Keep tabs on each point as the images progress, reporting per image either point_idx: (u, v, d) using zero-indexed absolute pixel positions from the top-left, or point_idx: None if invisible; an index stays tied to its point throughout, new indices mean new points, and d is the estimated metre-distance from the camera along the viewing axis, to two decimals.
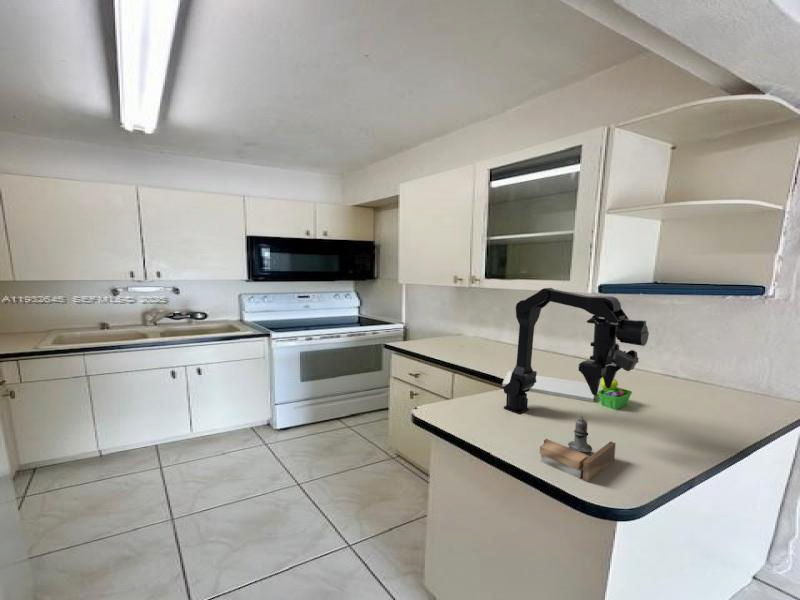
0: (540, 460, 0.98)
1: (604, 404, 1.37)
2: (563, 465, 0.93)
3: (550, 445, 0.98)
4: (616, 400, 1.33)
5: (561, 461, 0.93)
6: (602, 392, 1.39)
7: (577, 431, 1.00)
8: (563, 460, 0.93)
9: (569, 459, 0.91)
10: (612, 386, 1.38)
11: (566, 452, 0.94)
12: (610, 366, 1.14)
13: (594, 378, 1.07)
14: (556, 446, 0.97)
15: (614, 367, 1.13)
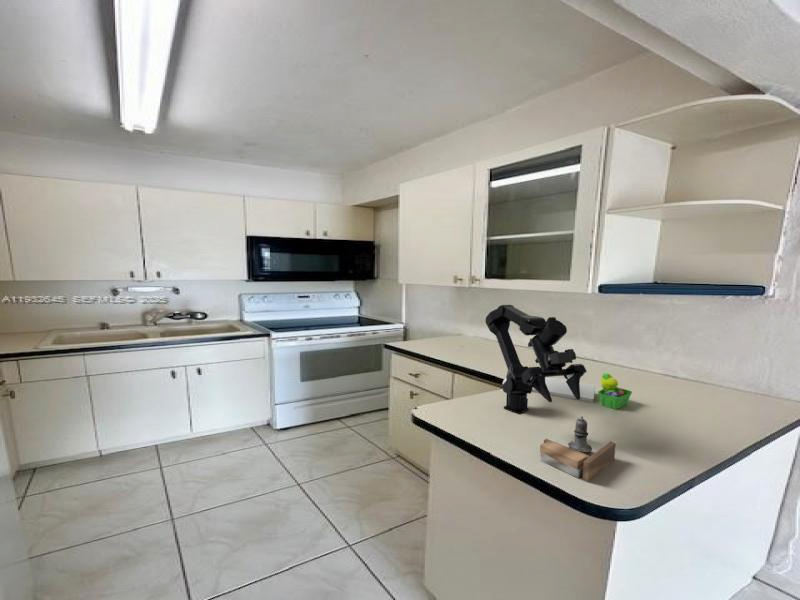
0: None
1: (604, 404, 1.37)
2: (561, 464, 0.93)
3: (551, 443, 0.98)
4: (616, 400, 1.33)
5: (560, 460, 0.93)
6: (602, 392, 1.39)
7: (577, 431, 1.00)
8: (562, 459, 0.93)
9: (568, 458, 0.92)
10: (612, 386, 1.38)
11: (566, 452, 0.94)
12: (571, 377, 1.13)
13: (540, 384, 1.10)
14: (557, 445, 0.97)
15: (573, 376, 1.12)
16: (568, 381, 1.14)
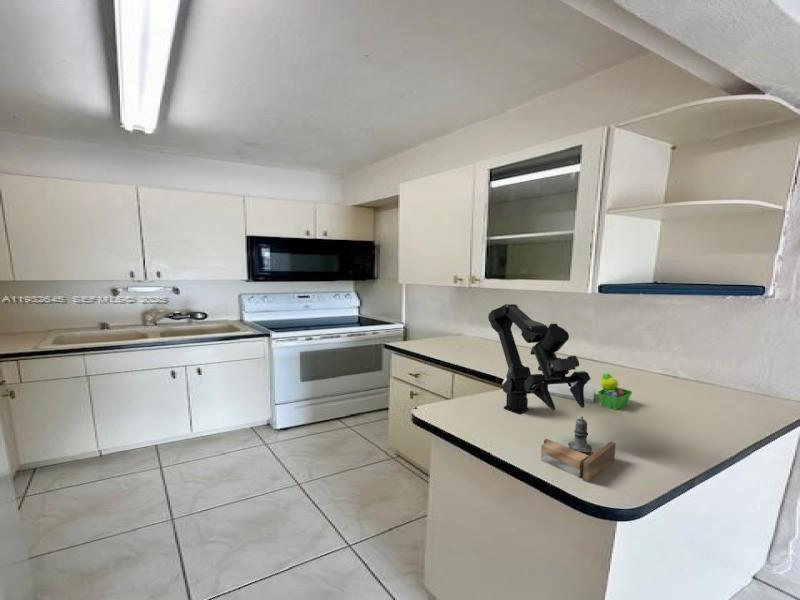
0: None
1: (604, 404, 1.37)
2: (562, 463, 0.93)
3: (552, 443, 0.98)
4: (616, 400, 1.33)
5: (562, 460, 0.93)
6: (602, 392, 1.39)
7: (577, 431, 1.00)
8: (564, 459, 0.93)
9: (570, 458, 0.92)
10: (612, 386, 1.38)
11: (568, 451, 0.94)
12: (575, 385, 1.11)
13: (543, 392, 1.07)
14: (558, 445, 0.97)
15: (576, 383, 1.10)
16: (572, 389, 1.12)
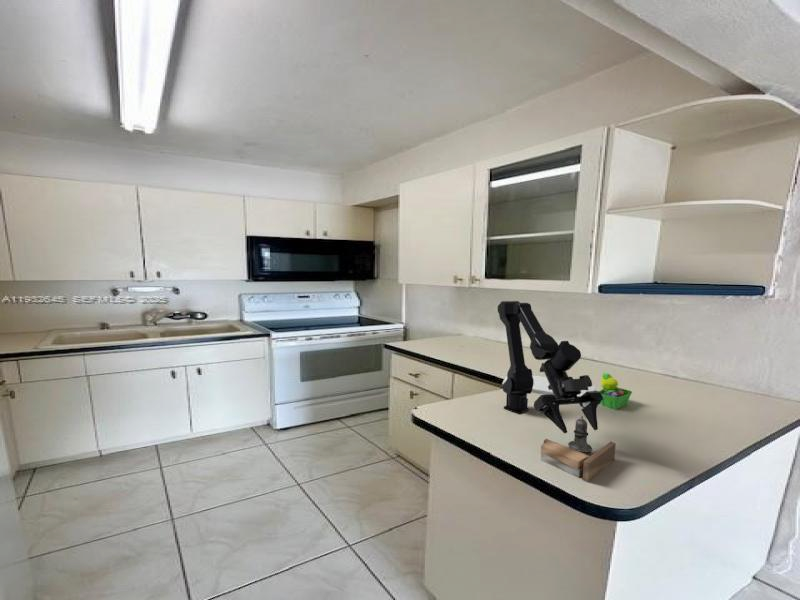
0: None
1: (604, 404, 1.37)
2: (562, 463, 0.93)
3: (552, 444, 0.98)
4: (616, 400, 1.33)
5: (561, 460, 0.93)
6: (602, 392, 1.39)
7: (577, 431, 1.00)
8: (563, 459, 0.93)
9: (569, 458, 0.92)
10: (612, 386, 1.38)
11: (567, 452, 0.94)
12: (587, 406, 1.05)
13: (554, 414, 1.02)
14: (557, 445, 0.97)
15: (589, 404, 1.05)
16: (584, 409, 1.07)
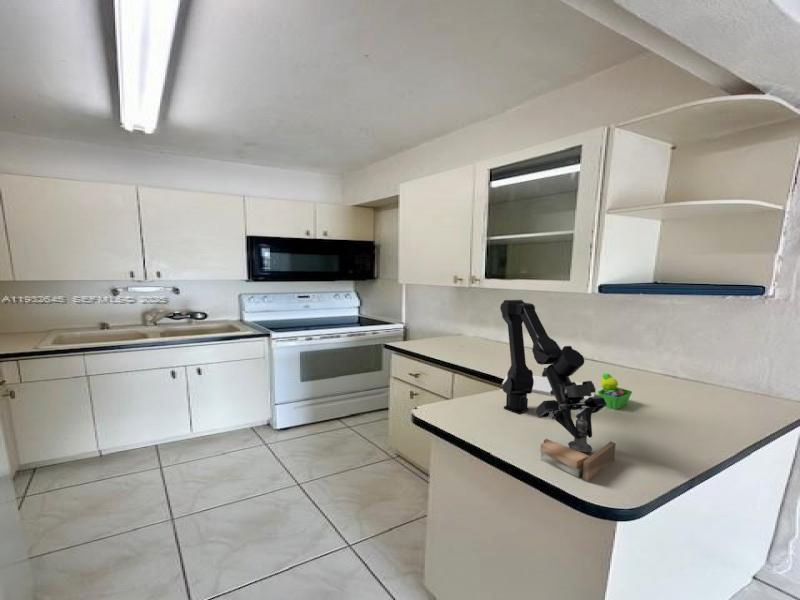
0: None
1: None
2: (561, 463, 0.93)
3: (552, 443, 0.98)
4: (616, 400, 1.33)
5: (560, 459, 0.93)
6: (602, 392, 1.39)
7: (577, 431, 1.00)
8: (562, 459, 0.93)
9: (567, 458, 0.91)
10: (612, 386, 1.38)
11: (566, 452, 0.94)
12: (581, 412, 1.04)
13: (566, 419, 1.02)
14: (557, 445, 0.97)
15: (584, 411, 1.03)
16: (578, 416, 1.05)
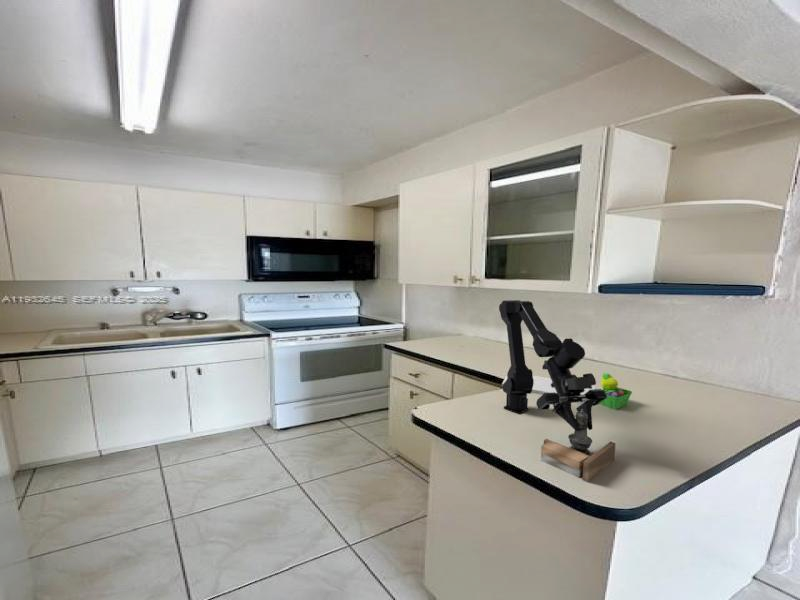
0: (540, 460, 0.98)
1: (604, 404, 1.37)
2: (562, 464, 0.93)
3: (552, 444, 0.98)
4: (616, 400, 1.33)
5: (562, 460, 0.93)
6: None
7: (577, 423, 1.00)
8: (564, 460, 0.93)
9: (570, 459, 0.92)
10: (612, 386, 1.38)
11: (568, 452, 0.94)
12: (582, 405, 1.04)
13: (566, 411, 1.02)
14: (558, 446, 0.97)
15: (584, 403, 1.03)
16: (579, 408, 1.05)
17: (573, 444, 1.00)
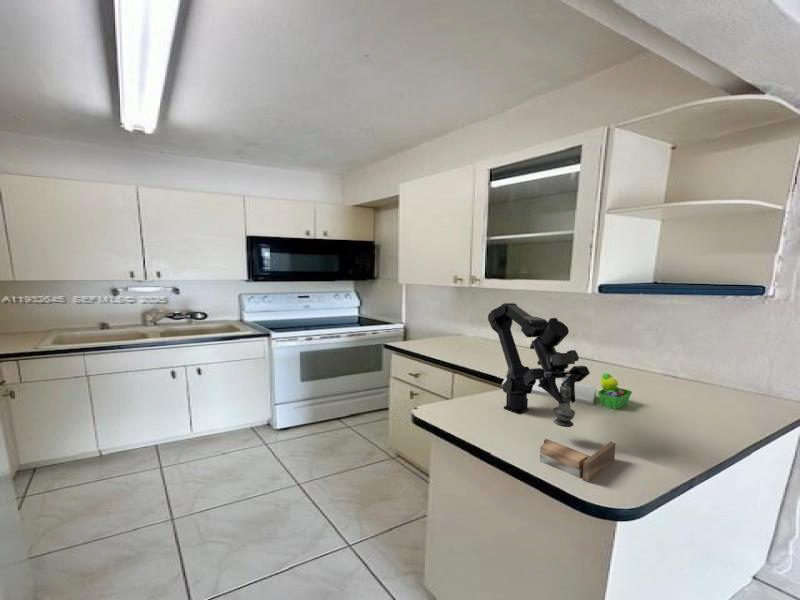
0: None
1: (604, 404, 1.37)
2: (562, 464, 0.93)
3: (551, 444, 0.98)
4: (616, 400, 1.33)
5: (561, 461, 0.93)
6: (602, 392, 1.39)
7: (561, 396, 1.06)
8: (563, 460, 0.93)
9: (569, 459, 0.92)
10: (612, 386, 1.38)
11: (567, 452, 0.94)
12: (566, 380, 1.10)
13: (551, 386, 1.08)
14: (557, 446, 0.97)
15: (568, 378, 1.09)
16: (563, 384, 1.11)
17: (557, 416, 1.07)
